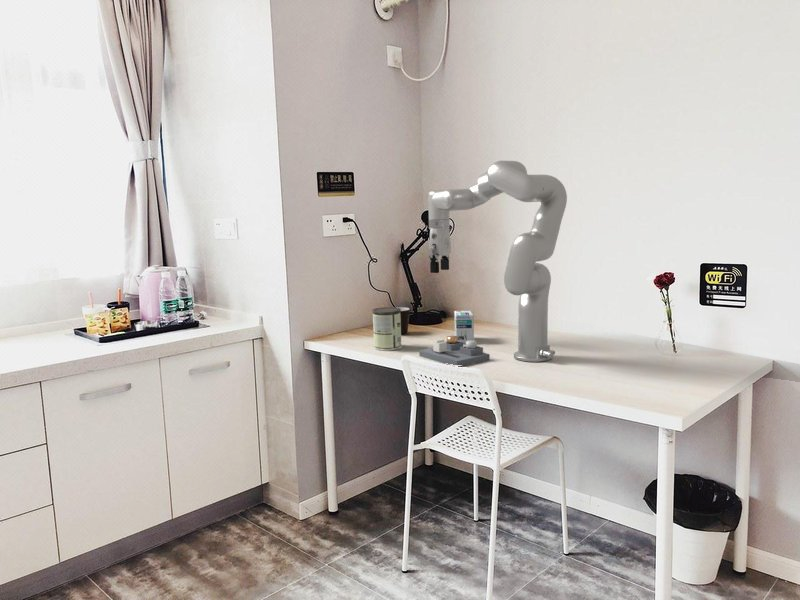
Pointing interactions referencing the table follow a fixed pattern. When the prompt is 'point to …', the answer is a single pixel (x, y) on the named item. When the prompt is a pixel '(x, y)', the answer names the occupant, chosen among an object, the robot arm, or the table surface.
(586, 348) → the table surface
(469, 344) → the grey button
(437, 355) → the panel
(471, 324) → the light bulb box
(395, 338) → the coffee can
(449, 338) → the copper button
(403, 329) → the coffee mug
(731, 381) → the table surface
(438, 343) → the slider
